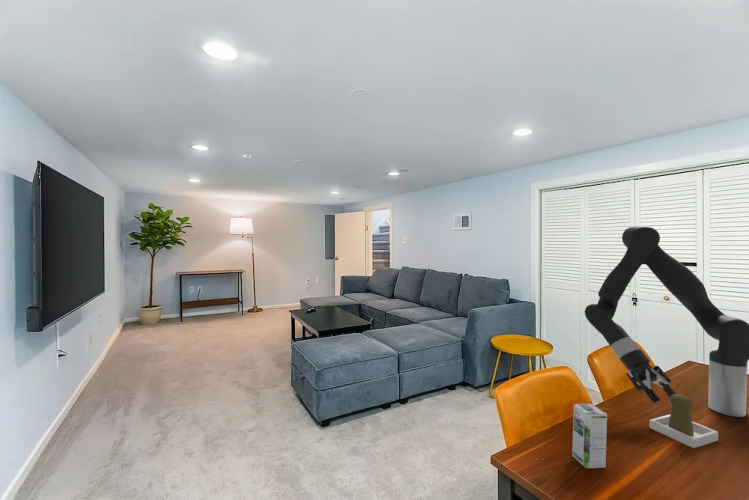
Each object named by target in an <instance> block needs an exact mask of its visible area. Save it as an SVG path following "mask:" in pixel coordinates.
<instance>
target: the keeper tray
mask: <svg viewBox="0 0 749 500" xmlns="http://www.w3.org/2000/svg"><path fill="white" fill-rule="evenodd" d="M669 419H670V414H666V415H662V416H658V417H654V418H651V419H649V429H652V430H653V431H655V432H658V433H659V434H662V435H664V436H667V437H669V438H671V439H673V440H675V441H676V442H679V443H682V444H684V445H685V446H688V447H691V448H692V449H696V448H699V447H702V446H705V445H709V444H712V443H714V442H717V441H719V432H718V431H717V430H715V429H713V428H712V429H711V428H709V427H707V426H705V425H702V424H700V423H697V422H695V421H692V425H693V432H694V435H693V436H688V435H686V434H684V433H681V432H679V431H677V430H675V429H672V428H670V427H668V424H669Z"/></svg>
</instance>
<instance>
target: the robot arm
mask: <svg viewBox="0 0 749 500" xmlns="http://www.w3.org/2000/svg"><path fill="white" fill-rule="evenodd" d="M659 233H660V232H659V231H658V230H657V229H655V228H654V227H650V226H645V225H644V226H643V225H634V226H630V227H627V228H626V229H625V230H624V231H623V233H622V234H621V235H622V236H621V240H622V243H623V245H624V246H625V247H626V251H625V253H624V255H623V257H622V258H621V260H620V262H618V264H617V265H616V266H615V267H614V268H613V269H612V270H611V272H610V273H609V274H608V275H607V276H606V278H605V279H604V282H603V283H602V285H601V286H600V289H599V290H598V292H597V293H598V297H599V299H598V301H597V303H591V304H588V305H587V306H586V307H585V309H584V316H585V318H586V319H587V321H588V322H589V323H590V325H591V326H592V327H593V328H594V329H595V330H597V332H599V334H601V336H602V337H603V338H604V340H605V341H606V342H607V344H608V345H609V346H610V347H611V349H612V351H613V352H614V355H616V357H617V358H618V359H619V361H620V362H621V363H622V365H623V366H624V367H625V369H626V370H627V371H628V372H626V376H627V377H628V379H629V380H630V381H631V383H632V385H633V386H634V388H636V390H637V392H638V391H640V392H641V391H642V392H643V393H645V394H646V396H648V398H649V400H650V401H651V402H652V403H653V404H656V403H659V402H661V398H660V397H659V396H658V395H657V394H656V392H655V391H654V390H653V388H652V387H651V383H653V384H655V385H657V386H659V387H661V389H662V390H663V391H664V393H666V395H667V397H668V398H670V397H671V396H672V395H673V394H677V393H676V391H674V389H673V388H672V387H671V385H670V383H672V382H673V381H672V379H671V378H669V376H668V375H667V374H666V372H664V371H663V369H662V368H661V367H660V366H659V365H655V366H651V365H650V362H651V360H650V358H649V357H648V356H647V355H646V353H645V352H644V351H643V350H642V349H641V348H640V346H639V345H638V344H637V343H636V342H635V340H634V339H632V338H631V336H630V335H629V334H628V333H627V332H626V330H625V329H624V328H623V327H622V326H621V325H619V324H617V323H616V322H615V321H614V320H613V318H614V317H615V314H616V311H617V308H618V305H619V301H620V299H621V297H622V296H623V295H624V293H625V292H626V289H627V287H628V285H630V282H631V281H632V279H633V278H634V276H635V275H636V273H637V272H638V270H639V269H640V268H641V266H642V265H643V264H645V265H646V266H647V267H648V269H649V270H651V272H652V274H654V276H655V277H656V278H657V279H658V280H659V281H660V283H661V284H662V285H663V286H664V287H665V288H666V289H667V291H669V292H670V293H671V295H673V296H674V297H675V298H676V299H677V300H678V302H680V303H681V304H682V305H683V306H684V308H685V309H687V310H688V311H689V312H690V313H691V315H692V316H693V317H694V318H695V319H696V321H697V322H698V324H699V325H700V326H701V328H702V329H703V330H704V332H706V334H707V335H708V336H709V337H711V338H713V339H714V340H716V341H718V347H717V349H715V350H711V351H710V352H709V358H708V359H709V361H708V362H709V363H708V364H709V366H708V400H707V401H708V404H707V406H708V408H709V409H711V410H712V411H714V412H716V413H719V414H722V415H725V416H729V417H737V418H744V417H746V416H747V413H746V412H747V387H748V386H747V385H748V361H749V323H748V322H747V321H745V320H743V319H741V318H736V317H733V316H728V315H726V314H725V313H723V312H722V311H721V310H720V309H719V308H718V307H717V306H715V305H714V303H713V302H712V301H711V300H710V298H709V295H708V293H707V289H706V287H705V285H704V284H703V282H702V281H701V280H700V278H698V277H697V275H695V273H694V272H693V271H692V270H691V269H689V268H688V267H687V266H686V265H684V264H683V263H681V262H680V261H679V260H677V259H676V258H674V257H672V256H671V255H669V254H668V253H667V252H666V251H664V250H663V249H662V248H661V246H660V245H659V244H660V240H661V235H660V234H659Z"/></svg>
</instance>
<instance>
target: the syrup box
mask: <svg viewBox="0 0 749 500" xmlns="http://www.w3.org/2000/svg"><path fill="white" fill-rule="evenodd" d="M572 421H573V422H572V423H573V424H572V425H573V426H572V455H571V456H572V457H573V458H574V459H576V461H577V462H579V464H581V465H582V467H584V468H585V469H601V468H604V469H605V468H606V464H607V462H606V461H607V460H606V459H607V433H608V432H607V430H608V413H606V412H604V411H603V410H601V409H600V408H599V407H597V406H595V405H594V404H592V403H576V404H573V418H572Z"/></svg>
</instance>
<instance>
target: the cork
mask: <svg viewBox="0 0 749 500" xmlns="http://www.w3.org/2000/svg"><path fill="white" fill-rule="evenodd" d="M669 400H670V403H671V405H672V406H671V411H670V414H669V415H670V419H669V424H668V427H670V428H672V429H675V430H677V431H679V432H681V433H684V434H686V435H688V436H693V435H694V432H693V425H692V422H693V420H692V413H691V409H692V407H693V405H694V404H693V399H692V398H690V397H689V396H687V395H684V394H680V393H676V394H673V395H672V396H671V397H669Z"/></svg>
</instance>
